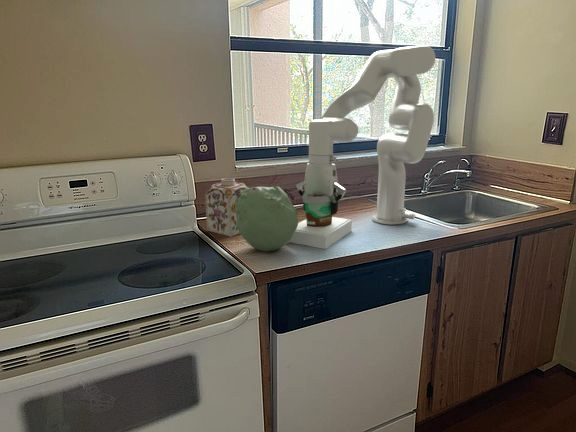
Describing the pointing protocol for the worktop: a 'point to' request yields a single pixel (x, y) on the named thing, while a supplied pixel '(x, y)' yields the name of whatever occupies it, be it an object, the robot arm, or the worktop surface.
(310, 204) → the food container
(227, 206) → the decorative jar
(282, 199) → the cabbage
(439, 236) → the worktop surface
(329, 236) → the base
